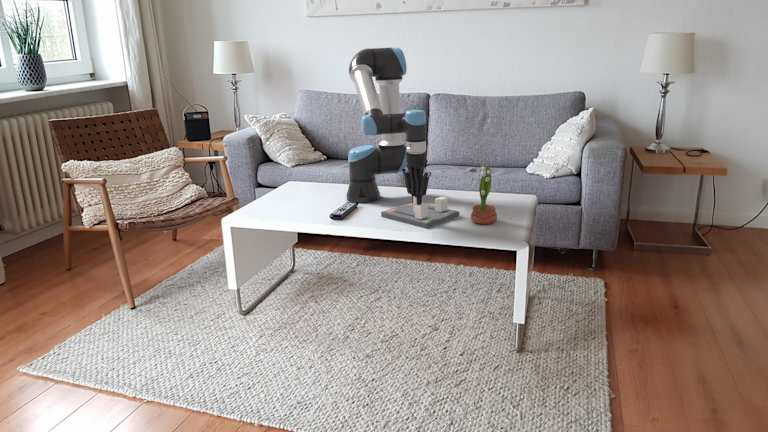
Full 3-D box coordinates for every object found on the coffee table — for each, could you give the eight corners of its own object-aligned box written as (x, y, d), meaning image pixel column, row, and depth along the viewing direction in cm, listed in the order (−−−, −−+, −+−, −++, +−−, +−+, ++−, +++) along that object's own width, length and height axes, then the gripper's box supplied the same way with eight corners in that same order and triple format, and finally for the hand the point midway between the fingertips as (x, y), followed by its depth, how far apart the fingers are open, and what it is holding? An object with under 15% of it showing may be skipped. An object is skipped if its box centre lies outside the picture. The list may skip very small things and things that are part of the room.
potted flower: (496, 227, 216) (498, 161, 208) (469, 226, 218) (470, 161, 210) (497, 218, 227) (498, 155, 220) (471, 217, 229) (471, 154, 222)
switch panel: (381, 216, 234) (381, 211, 233) (414, 205, 247) (414, 201, 247) (426, 228, 217) (426, 223, 217) (459, 216, 231) (459, 211, 230)
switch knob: (435, 210, 231) (435, 198, 230) (441, 208, 234) (441, 196, 233) (441, 212, 229) (440, 199, 228) (447, 209, 232) (447, 197, 230)
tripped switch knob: (415, 217, 223) (414, 205, 222) (422, 215, 226) (421, 203, 224) (421, 219, 221) (420, 206, 220) (427, 216, 224) (427, 204, 222)
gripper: (396, 151, 219) (398, 211, 226) (422, 155, 211) (423, 217, 218) (410, 148, 224) (411, 207, 231) (435, 152, 216) (436, 213, 223)
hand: (417, 212), depth 224 cm, fingers closed
